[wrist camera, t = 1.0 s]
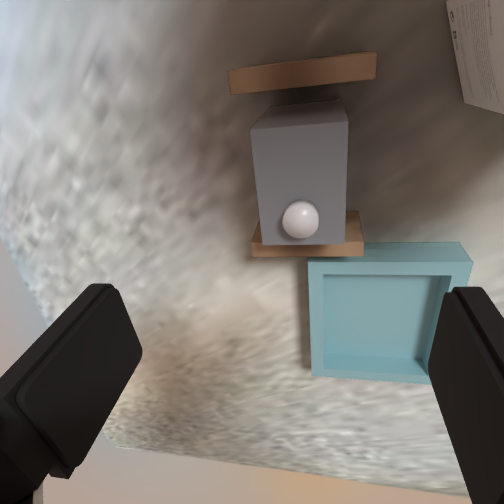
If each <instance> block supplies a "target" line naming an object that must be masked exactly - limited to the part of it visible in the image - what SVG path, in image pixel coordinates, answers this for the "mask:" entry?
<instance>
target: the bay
mask: <svg viewBox="0 0 504 504" xmlns="http://www.w3.org/2000/svg"><path fill="white" fill-rule="evenodd" d="M376 61H377V52H367V51H365V52H358V53H350V54H342V55H334V56H327V57H319V58H311V59H304V60H296V61H288V62H280V63H273V64H265V65H257V66H250V67H243V68H240V69H236V70H232V71H228V78H229V85H230V93H231V95H234V94H243V93H252V92H260V91H269V90H278V89H287V88H296V87H305V86H314V85H323V84H332V83H341V82H350V81H359V80H368V79H375V76H376ZM251 248H252V255H253V257H305V256H363V253H364V238H363V234H362V229H361V224H360V220H359V215H358V211H350V212H346V217H345V244H325V245H263V243H262V234H261V226H260V219H259V222H258V225H257V228H256V230H255V233H254V236H253V238H252V241H251Z"/></svg>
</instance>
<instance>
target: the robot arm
mask: <svg viewBox="0 0 504 504" xmlns="http://www.w3.org/2000/svg"><path fill="white" fill-rule="evenodd" d="M141 357H142V347H141V344H140V342H139V339H138V337H137V334H136V332H135V330H134V327H133V325H132V322H131V320H130V317H129V315H128V312H127V310H126V307H125V305H124V303H123V300H122V298H121V295H120V293H119V291H118V290H117V289H115V288H114V286H113V285H112V284H95V283H94V284H91V285H89V286H88V287H87V288H86V289H85V290H84V291H83V292H82V293H81V294H80V295H79V296H78V297H77V299H76V300H75V301H74V302H73V303H72V304H71V305H70V306H69V307H68V308H67V309H66V310H65V311H64V312H63V313H62V314H61V315H60V316H59V317H58V318H57V319H56V320H55V321H54V322H53V324H52V325H51V326H50V327H49V328H48V329H47V330H46V331H45V332H44V333H43V334H42V335H41V336H40V337H39V338H38V339H37V340H36V341H35V342H34V343H33V344H32V346H30V348H28V350H27V351H26V352H25V353H24V354H23V355H22V356H21V357H20V358H19V359H18V360H17V361H16V362H15V363H14V364H13V365H12V366H11V367H10V368H9V369H8V370H7V371H6V372H5V374H4V375H3V376H2V377H1V378H0V504H43V480H44V479H45V477H46V476H47V474H48V473H49V474H50V475H51V477H58V478H65V479H69V478H70V476H71V474H72V472H73V471H74V469H75V467H77V466H79V465H80V464H81V463H82V462H83V460H84V458H85V457H86V455H87V453H88V452H89V450H90V448H91V446H92V445H93V443H94V441H95V439H96V437H97V436H98V434H99V432H100V431H101V429H102V427H103V425H104V423H105V422H106V420H107V418H108V416H109V415H110V413H111V411H112V409H113V408H114V406H115V404H116V402H117V400H118V399H119V397H120V395H121V393H122V392H123V390H124V388H125V386H126V385H127V383H128V381H129V379H130V378H131V376H132V374H133V372H134V370H135V369H136V367H137V365H138V363H139V362H140V360H141ZM428 374H429V378H430V381H431V384H432V387H433V389H434V392H435V395H436V398H437V401H438V404H439V407H440V410H441V413H442V416H443V419H444V422H445V425H446V428H447V431H448V434H449V436H450V439H451V442H452V445H453V448H454V451H455V454H456V457H457V460H458V463H459V466H460V469H461V472H462V475H463V478H464V481H465V483H466V486H467V489H468V492H469V495H470V498H471V501H472V504H504V318H503V317H502V315H501V314H500V312H499V311H498V310H497V308H496V307H495V305H494V304H493V302H492V301H491V299H490V298H489V296H488V295H487V294H486V292H485V291H484V290H483V288H481V287H454V288H453V289H452V291H451V292H446V293H445V294H444V296H443V300H442V305H441V309H440V313H439V318H438V322H437V326H436V330H435V335H434V339H433V343H432V348H431V352H430V356H429V361H428Z"/></svg>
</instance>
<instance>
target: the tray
mask: <svg viewBox="0 0 504 504" xmlns="http://www.w3.org/2000/svg"><path fill="white" fill-rule="evenodd" d="M472 265H473V261H472V260H471V258H470V257H469V255H468V254H467V253H466V251H465V250H464V248H463V247H462V245H461V244H460V243H459V242H414V243H364V253H363V256H308V284H309V313H310V341H311V370H312V376H321V377H335V378H348V379H362V380H375V381H388V382H402V383H415V384H429V385H432V384H431V381H430V378H429V374H428V361H429V356H430V352H431V348H432V343H433V339H434V335H435V330H436V326H437V322H438V318H439V313H440V309H441V305H442V300H443V296H444V294H445V293H446V292H451V291H452V289H453V288H454V287H467V284H468V280H469V276H470V273H471V269H472Z"/></svg>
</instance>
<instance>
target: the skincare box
mask: <svg viewBox="0 0 504 504" xmlns="http://www.w3.org/2000/svg"><path fill="white" fill-rule="evenodd" d="M446 6H447V11H448V17H449V23H450V28H451V34H452V40H453V45H454V51H455V56H456V61H457V67H458V72H459V77H460V83H461V88H462V93H463V98H464V102H465V103H466V104H470V105H473V106H477V107H480V108H483V109H487V110H490V111H494V112H497V113H501V114H504V0H447V2H446Z"/></svg>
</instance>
